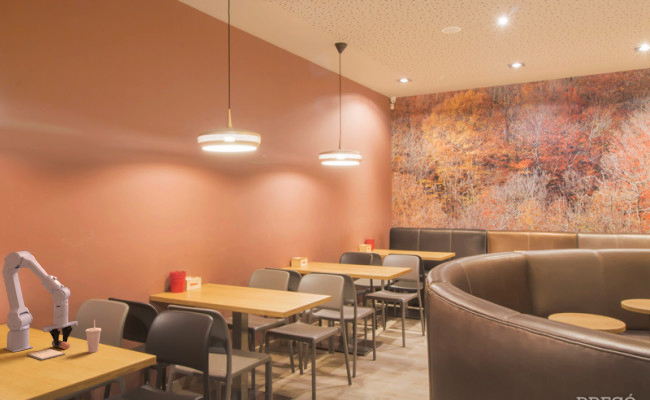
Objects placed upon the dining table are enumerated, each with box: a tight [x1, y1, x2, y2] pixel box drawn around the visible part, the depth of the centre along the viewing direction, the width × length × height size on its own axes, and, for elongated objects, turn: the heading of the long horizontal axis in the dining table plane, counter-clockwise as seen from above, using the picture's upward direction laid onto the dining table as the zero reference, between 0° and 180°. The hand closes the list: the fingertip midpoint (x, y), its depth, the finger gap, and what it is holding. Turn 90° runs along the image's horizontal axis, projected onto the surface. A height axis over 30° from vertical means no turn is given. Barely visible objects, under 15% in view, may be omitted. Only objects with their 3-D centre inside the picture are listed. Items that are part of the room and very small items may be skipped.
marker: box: [51, 339, 71, 350], centre depth 206 cm, size 10×3×3 cm, turn 57°
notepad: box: [26, 348, 66, 361], centre depth 195 cm, size 13×10×1 cm
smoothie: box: [84, 319, 102, 354], centre depth 200 cm, size 6×6×14 cm
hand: (60, 344), depth 206 cm, fingers closed on marker, 3 cm apart
